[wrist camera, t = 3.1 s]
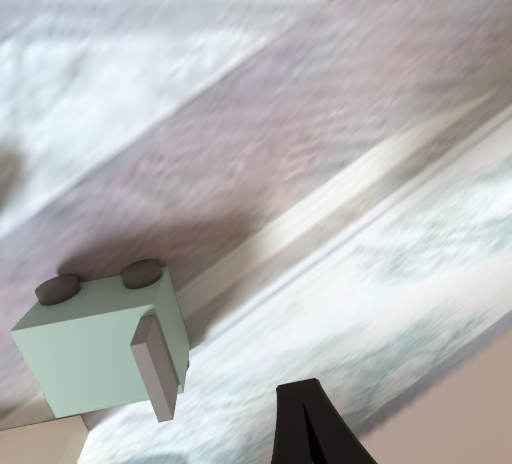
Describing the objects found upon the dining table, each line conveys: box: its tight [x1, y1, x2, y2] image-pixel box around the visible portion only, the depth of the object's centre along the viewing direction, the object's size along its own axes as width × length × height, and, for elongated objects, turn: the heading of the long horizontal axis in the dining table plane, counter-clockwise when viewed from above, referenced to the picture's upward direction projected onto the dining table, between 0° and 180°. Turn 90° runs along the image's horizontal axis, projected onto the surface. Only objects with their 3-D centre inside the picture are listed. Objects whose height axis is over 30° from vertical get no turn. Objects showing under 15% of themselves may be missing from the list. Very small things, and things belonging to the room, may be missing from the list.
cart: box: [10, 259, 190, 422], centre depth 16 cm, size 6×6×5 cm
